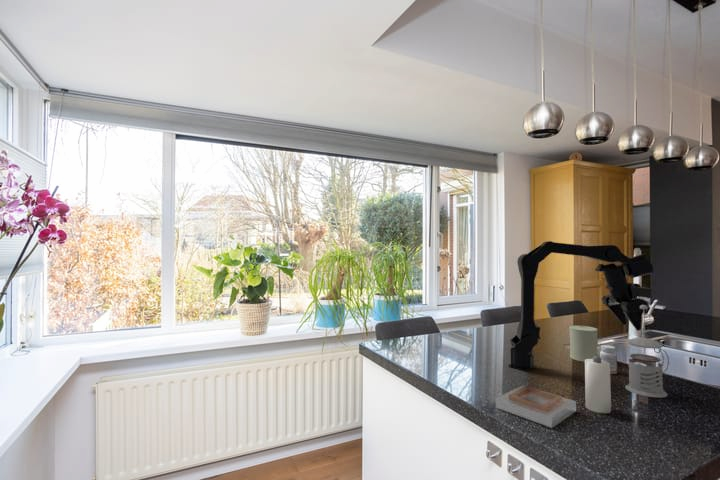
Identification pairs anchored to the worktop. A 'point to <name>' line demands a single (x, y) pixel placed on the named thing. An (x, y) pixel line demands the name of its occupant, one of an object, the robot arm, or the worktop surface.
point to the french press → (646, 368)
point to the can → (583, 343)
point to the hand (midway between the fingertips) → (631, 327)
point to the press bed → (536, 405)
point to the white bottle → (597, 385)
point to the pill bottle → (609, 357)
